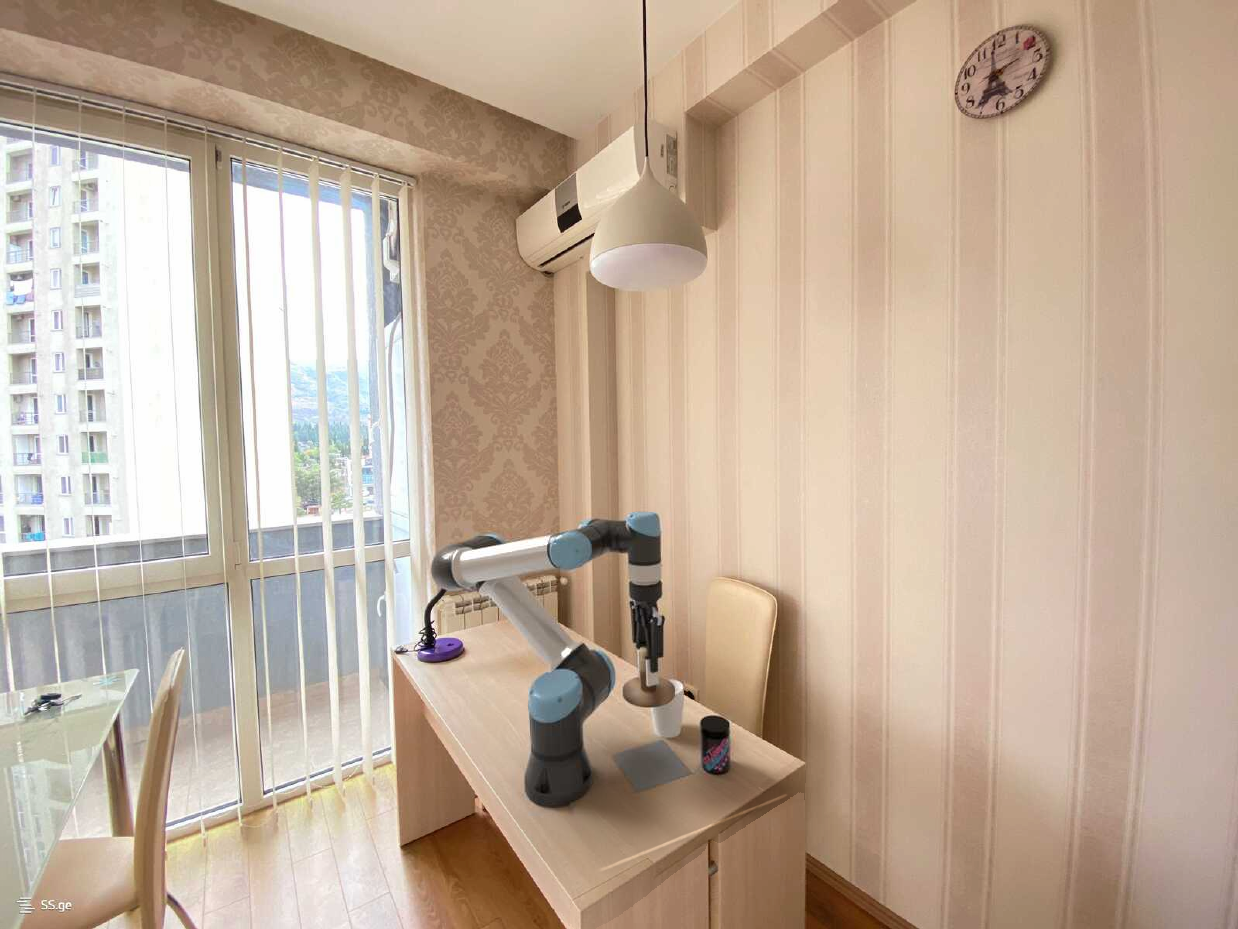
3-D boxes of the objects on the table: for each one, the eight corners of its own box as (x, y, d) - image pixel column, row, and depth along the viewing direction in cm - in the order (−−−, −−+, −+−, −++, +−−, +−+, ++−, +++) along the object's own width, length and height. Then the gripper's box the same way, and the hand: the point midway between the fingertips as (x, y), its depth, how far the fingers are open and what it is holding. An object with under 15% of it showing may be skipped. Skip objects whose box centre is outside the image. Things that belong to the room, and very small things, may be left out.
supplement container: (695, 770, 116) (694, 726, 115) (708, 754, 121) (707, 712, 121) (723, 781, 112) (722, 735, 111) (735, 764, 117) (734, 721, 117)
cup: (683, 743, 126) (682, 697, 125) (647, 740, 127) (646, 694, 127) (686, 723, 134) (685, 679, 134) (652, 720, 136) (651, 677, 135)
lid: (636, 712, 109) (635, 665, 108) (614, 687, 120) (613, 644, 119) (684, 699, 114) (683, 653, 113) (659, 676, 125) (658, 634, 124)
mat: (636, 794, 109) (636, 792, 109) (611, 757, 121) (611, 755, 121) (692, 775, 114) (692, 773, 114) (662, 741, 127) (662, 739, 127)
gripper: (678, 587, 109) (680, 693, 110) (643, 569, 124) (646, 662, 126) (647, 593, 106) (650, 701, 107) (615, 573, 121) (618, 668, 123)
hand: (648, 680), depth 117 cm, fingers closed on lid, 4 cm apart
